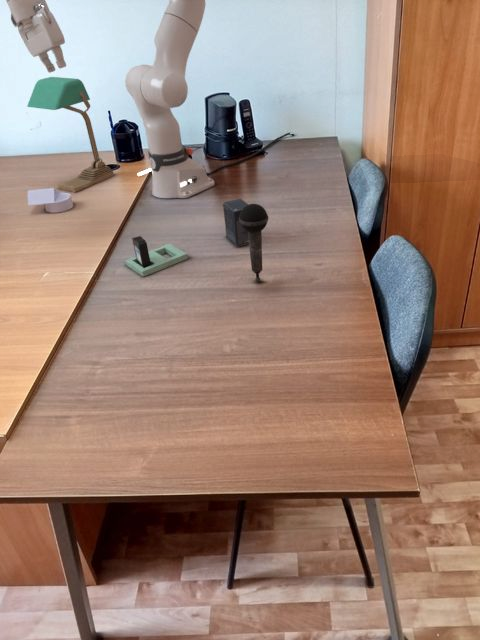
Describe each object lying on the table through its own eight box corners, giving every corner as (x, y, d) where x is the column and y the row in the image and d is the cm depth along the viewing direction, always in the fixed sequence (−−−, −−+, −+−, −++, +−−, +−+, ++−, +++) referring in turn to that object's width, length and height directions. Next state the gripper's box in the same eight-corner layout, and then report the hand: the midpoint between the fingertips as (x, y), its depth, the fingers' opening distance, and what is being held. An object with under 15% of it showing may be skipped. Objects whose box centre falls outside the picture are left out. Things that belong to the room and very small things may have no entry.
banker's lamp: (121, 176, 201) (98, 74, 180) (79, 195, 187) (50, 86, 166) (92, 170, 208) (67, 71, 187) (49, 188, 194) (18, 83, 173)
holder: (170, 248, 150) (169, 243, 149) (188, 258, 144) (187, 253, 143) (126, 265, 143) (125, 260, 142) (143, 276, 137) (142, 271, 136)
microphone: (243, 276, 134) (236, 200, 122) (270, 274, 135) (266, 197, 123) (245, 290, 129) (238, 212, 117) (273, 287, 129) (269, 209, 117)
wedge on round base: (31, 215, 175) (71, 211, 176) (24, 195, 171) (65, 191, 172) (36, 204, 182) (75, 201, 183) (30, 185, 178) (69, 181, 179)
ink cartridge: (137, 264, 143) (131, 237, 138) (145, 262, 144) (139, 234, 139) (143, 271, 139) (137, 244, 134) (151, 269, 140) (146, 241, 135)
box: (255, 242, 150) (252, 206, 143) (236, 247, 148) (233, 211, 141) (243, 232, 155) (240, 197, 149) (225, 237, 153) (222, 201, 147)
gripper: (53, -3, 126) (81, 60, 133) (31, 14, 142) (57, 70, 149) (29, 4, 124) (58, 68, 131) (9, 21, 139) (36, 77, 146)
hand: (57, 69), depth 140 cm, fingers open, 8 cm apart
